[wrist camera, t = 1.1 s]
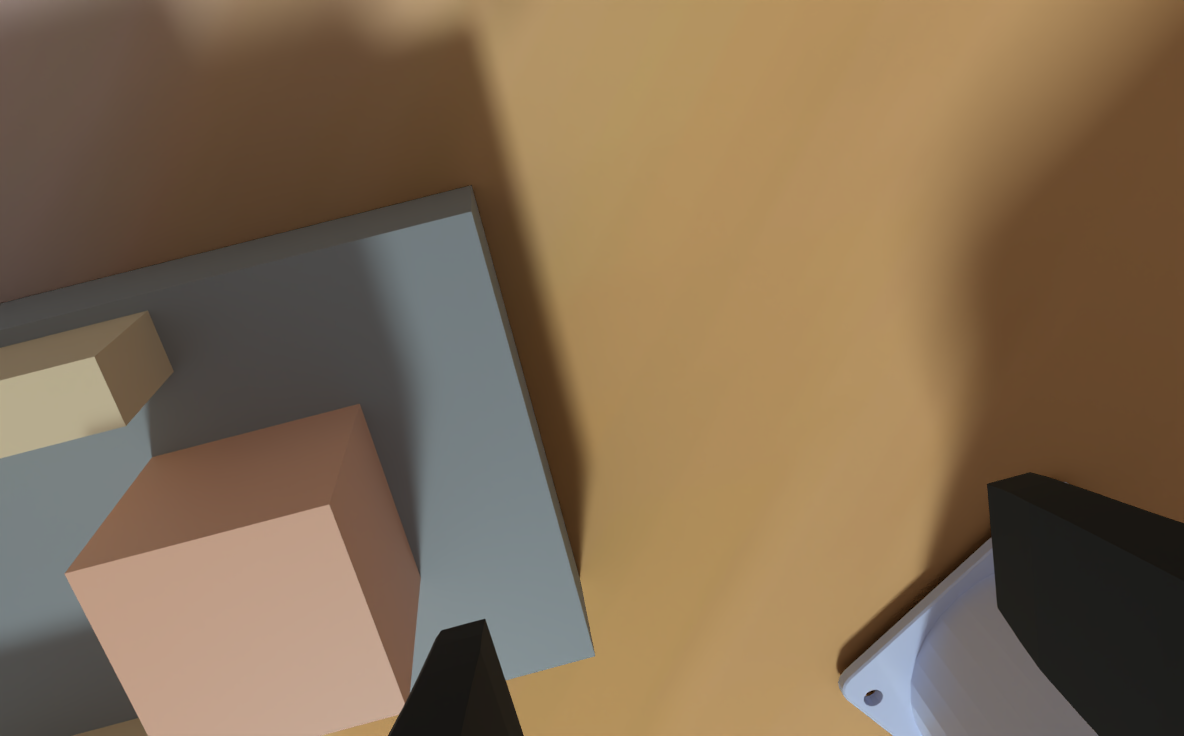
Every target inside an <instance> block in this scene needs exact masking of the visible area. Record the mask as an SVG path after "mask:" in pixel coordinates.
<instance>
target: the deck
mask: <svg viewBox="0 0 1184 736" xmlns="http://www.w3.org/2000/svg"><path fill="white" fill-rule="evenodd" d="M356 404H360V406H361V409H362V411H363V414H364V417H365V420H366V423H367V426H368V429H369V431H370V434H371V437H372V440H373V443H374V446H375V449H376V451H377V454H378V457H379V460H380V463H381V466H382V469H383V471H384V474H385V477H386V480H387V483H388V486H389V489H390V491H391V494H392V497H393V500H394V503H395V506H396V509H397V511H398V514H399V517H400V520H401V523H402V526H403V529H404V531H405V534H406V537H407V540H408V543H409V546H410V549H411V551H412V554H413V557H414V560H415V563H416V566H417V569H418V571H419V574H420V577H421V581H420V592H419V602H418V613H417V623H416V634H415V645H414V655H413V666H412V676H411V687H410V692H411V690H412V688H413V686H414V684H415V682H416V680H417V678H418V676H419V673H420V671H421V669H422V667H423V665H424V663H425V660H426V658H427V656H428V654H429V652H430V650H431V647H432V645H433V643H434V641H435V639H436V637H437V636H438V634H439V633H440V631H441V630H444V629H448V628H452V627H455V626H459V625H463V624H467V623H470V622H474V621H478V620H482V619H486V622H487V625H488V628H489V631H490V634H491V638H492V641H493V644H494V647H495V650H496V653H497V656H498V659H499V662H500V665H501V668H502V671H503V674H504V677H505V680H509V679H512V678H516V677H520V676H523V675H527V674H531V673H535V672H538V671H542V670H546V669H549V668H553V667H557V666H560V665H564V664H568V663H572V662H575V661H579V660H583V659H586V658H590V657H594V656H595V653H594V648H593V643H592V638H591V632H590V627H589V622H588V617H587V612H586V607H585V602H584V597H583V592H582V587H581V582H580V577H579V574H578V570H577V567H576V563H575V559H574V556H573V552H572V548H571V545H570V541H569V537H568V534H567V530H566V527H565V523H564V519H563V516H562V512H561V508H560V505H559V501H558V498H557V494H556V490H555V487H554V483H553V479H552V476H551V472H550V468H549V465H548V461H547V458H546V454H545V450H544V447H543V443H542V439H541V436H540V432H539V429H538V425H537V421H536V418H535V414H534V410H533V407H532V403H531V399H530V396H529V392H528V389H527V385H526V381H525V378H524V374H523V370H522V367H521V363H520V360H519V356H518V352H517V349H516V345H515V341H514V338H513V334H512V330H511V327H510V323H509V320H508V316H507V312H506V309H505V305H504V301H503V298H502V294H501V291H500V287H499V283H498V280H497V276H496V272H495V269H494V265H493V261H492V258H491V254H490V251H489V247H488V243H487V240H486V236H485V232H484V229H483V225H482V222H481V218H480V214H479V211H478V207H477V203H476V200H475V196H474V192H473V189H472V185H471V186H467V187H463V188H459V189H455V190H451V191H447V192H443V193H439V194H435V195H431V196H427V197H423V198H419V199H415V200H411V201H407V202H403V203H399V204H395V205H391V206H387V207H383V208H379V209H375V210H371V211H367V212H363V213H359V214H355V215H351V216H347V217H343V218H339V219H335V220H331V221H327V222H323V223H319V224H315V225H312V226H308V227H304V228H300V229H296V230H292V231H288V232H284V233H280V234H276V235H272V236H268V237H264V238H260V239H256V240H252V241H248V242H244V243H240V244H236V245H232V246H228V247H224V248H220V249H216V250H212V251H208V252H204V253H200V254H196V255H192V256H188V257H184V258H180V259H176V260H172V261H168V262H164V263H160V264H156V265H152V266H148V267H144V268H140V269H136V270H132V271H128V272H124V273H120V274H116V275H112V276H108V277H104V278H100V279H97V280H93V281H89V282H85V283H81V284H77V285H73V286H69V287H65V288H61V289H57V290H53V291H49V292H45V293H41V294H37V295H33V296H29V297H25V298H21V299H17V300H13V301H9V302H5V303H1V304H0V736H148V735H147V733H146V731H145V729H144V727H143V725H142V723H141V721H140V719H139V717H138V715H137V713H136V712H135V710H134V708H133V706H132V704H131V702H130V700H129V698H128V696H127V694H126V692H125V690H124V688H123V686H122V684H121V682H120V681H119V679H118V677H117V675H116V673H115V671H114V669H113V667H112V665H111V663H110V661H109V659H108V657H107V655H106V653H105V652H104V650H103V648H102V646H101V644H100V642H99V640H98V638H97V636H96V634H95V632H94V630H93V628H92V626H91V624H90V622H89V621H88V619H87V617H86V615H85V613H84V611H83V609H82V607H81V605H80V603H79V601H78V599H77V597H76V595H75V593H74V591H73V590H72V588H71V586H70V584H69V582H68V580H67V578H66V576H65V572H66V571H67V570H68V568H69V567H70V566H71V564H72V563H73V562H74V560H75V559H76V558H77V556H78V555H79V554H80V552H81V551H82V550H83V548H84V547H85V546H86V544H87V543H88V542H89V540H90V539H91V538H92V536H93V535H94V534H95V532H96V531H97V530H98V528H99V527H100V526H101V524H102V523H103V522H104V520H105V519H106V518H107V516H108V515H109V514H110V512H111V511H112V510H113V508H114V507H115V506H116V504H117V503H118V502H119V500H120V499H121V498H122V496H123V495H124V494H125V492H126V491H127V490H128V488H129V487H130V486H131V484H132V483H133V482H134V480H135V479H136V478H137V476H138V475H139V474H140V472H141V471H142V470H143V468H144V467H145V466H146V464H147V463H148V462H149V460H150V459H151V458H152V457H155V456H159V455H163V454H167V453H170V452H174V451H178V450H182V449H186V448H190V447H194V446H198V445H201V444H205V443H209V442H213V441H217V440H221V439H225V438H228V437H232V436H236V435H240V434H244V433H248V432H252V431H256V430H259V429H263V428H267V427H271V426H275V425H279V424H283V423H287V422H290V421H294V420H298V419H302V418H306V417H310V416H314V415H318V414H321V413H325V412H329V411H333V410H337V409H341V408H345V407H349V406H352V405H356Z"/></svg>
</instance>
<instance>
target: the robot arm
mask: <svg viewBox="0 0 1184 736" xmlns="http://www.w3.org/2000/svg"><path fill="white" fill-rule="evenodd" d="M987 488H988V500H989V513H990V525H991V538H990V539H988V540H987V541H986V542H985V543H984V544H983V545H982V546H981V547H980V548H979V549H977V550H976V551H975V552H974V553H973V554H972V555H971V556H970V557H969V558H968V559H966V560H965V561H964V562H963V563H962V564H961V565H960V566H959V567H958V568H957V569H955V570H954V571H953V572H952V573H951V574H950V575H949V576H948V577H947V578H946V579H944V580H943V581H942V582H941V583H940V584H939V585H938V586H937V587H936V588H935V589H933V590H932V591H931V592H930V593H929V594H928V595H927V596H926V597H925V598H924V599H922V600H921V601H920V602H919V603H918V604H917V605H916V606H915V607H914V608H912V609H911V610H910V611H909V612H908V613H907V614H906V615H905V616H904V617H903V618H901V619H900V620H899V621H898V622H897V623H896V624H895V625H894V626H893V627H892V628H890V629H889V630H888V631H887V632H886V633H885V634H884V635H883V636H882V637H881V638H879V639H878V640H877V641H876V642H875V643H874V644H873V645H872V646H871V647H870V648H868V649H867V650H866V651H865V652H864V653H863V654H862V655H861V656H860V657H859V658H857V659H856V660H855V661H854V662H853V663H852V664H851V665H850V666H849V667H848V668H846V669H845V670H844V671H843V673H842V674H841V675H840V678H839V681H838V683H839V688H840V690H841V692H842V693H843V695H844V697H845V698H846V699H847V700H848V701H849V702H851V703H852V704H853V705H854V706H856V707H857V708H858V709H860V710H861V711H862V712H863V713H865V714H866V715H867V716H869V717H870V718H871V719H872V720H874V721H875V722H876V723H878V724H879V725H880V726H881V727H883V728H884V729H885V730H887V731H888V732H889V733H890V734H892V735H893V736H1184V523H1181V522H1178V521H1175V520H1172V519H1169V518H1166V517H1163V516H1160V515H1157V514H1154V513H1151V512H1148V511H1145V510H1143V509H1140V508H1137V507H1134V506H1131V505H1128V504H1125V503H1122V502H1120V501H1117V500H1114V499H1111V498H1108V497H1105V496H1102V495H1100V494H1097V493H1094V492H1091V491H1088V490H1085V489H1082V488H1079V487H1076V486H1073V485H1071V484H1068V483H1067V482H1061V481H1058V480H1055V479H1052V478H1049V477H1046V476H1042V475H1038V474H1035V473H1031V472H1030V473H1026V474H1022V475H1018V476H1015V477H1011V478H1007V479H1003V480H1000V481H996V482H992V483H989V484H987ZM871 690H876V691H875V692H874V693H873V694H871V695H869V696H865V695H866V694H867V693H868V692H869V691H871ZM388 736H524V735H523V732H522V729H521V726H520V723H519V720H518V717H517V714H516V711H515V708H514V705H513V702H512V699H511V696H510V693H509V690H508V686H507V683H506V680H505V677H504V674H503V671H502V668H501V665H500V662H499V659H498V656H497V653H496V650H495V647H494V644H493V641H492V638H491V634H490V631H489V628H488V625H487V622H486V619H482V620H478V621H474V622H470V623H467V624H463V625H459V626H455V627H452V628H448V629H444V630H441V631H440V633H439V634H438V636H437V637H436V639H435V641H434V643H433V645H432V647H431V650H430V652H429V654H428V656H427V658H426V660H425V663H424V665H423V667H422V669H421V671H420V673H419V676H418V678H417V680H416V682H415V684H414V686H413V688H412V690H411V692H410V694H409V696H408V698H407V700H406V702H405V704H404V706H403V708H402V710H401V712H400V714H399V716H398V718H397V720H396V722H395V724H394V725H393V727H392V729H391V731H390V733H389V735H388Z"/></svg>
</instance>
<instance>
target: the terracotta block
mask: <svg viewBox="0 0 1184 736" xmlns="http://www.w3.org/2000/svg"><path fill="white" fill-rule="evenodd" d="M65 576H66V578H67V580H68V582H69V584H70V586H71V588H72V590H73V591H74V593H75V595H76V597H77V599H78V601H79V603H80V605H81V607H82V609H83V611H84V613H85V615H86V617H87V619H88V621H89V622H90V624H91V626H92V628H93V630H94V632H95V634H96V636H97V638H98V640H99V642H100V644H101V646H102V648H103V650H104V652H105V653H106V655H107V657H108V659H109V661H110V663H111V665H112V667H113V669H114V671H115V673H116V675H117V677H118V679H119V681H120V682H121V684H122V686H123V688H124V690H125V692H126V694H127V696H128V698H129V700H130V702H131V704H132V706H133V708H134V710H135V712H136V713H137V715H138V717H139V719H140V721H141V723H142V725H143V727H144V729H145V731H146V733H147V735H148V736H321V735H325V734H329V733H332V732H336V731H340V730H344V729H347V728H351V727H355V726H358V725H362V724H366V723H369V722H373V721H377V720H380V719H384V718H388V717H392V716H395V715H399V714H400V712H401V710H402V708H403V706H404V704H405V702H406V700H407V698H408V696H409V694H410V687H411V676H412V666H413V655H414V645H415V634H416V623H417V613H418V602H419V592H420V581H421V577H420V574H419V571H418V569H417V566H416V563H415V560H414V557H413V554H412V551H411V549H410V546H409V543H408V540H407V537H406V534H405V531H404V529H403V526H402V523H401V520H400V517H399V514H398V511H397V509H396V506H395V503H394V500H393V497H392V494H391V491H390V489H389V486H388V483H387V480H386V477H385V474H384V471H383V469H382V466H381V463H380V460H379V457H378V454H377V451H376V449H375V446H374V443H373V440H372V437H371V434H370V431H369V429H368V426H367V423H366V420H365V417H364V414H363V411H362V409H361V406H360V404H356V405H352V406H349V407H345V408H341V409H337V410H333V411H329V412H325V413H321V414H318V415H314V416H310V417H306V418H302V419H298V420H294V421H290V422H287V423H283V424H279V425H275V426H271V427H267V428H263V429H259V430H256V431H252V432H248V433H244V434H240V435H236V436H232V437H228V438H225V439H221V440H217V441H213V442H209V443H205V444H201V445H198V446H194V447H190V448H186V449H182V450H178V451H174V452H170V453H167V454H163V455H159V456H155V457H152V458H151V459H150V460H149V462H148V463H147V464H146V466H145V467H144V468H143V470H142V471H141V472H140V474H139V475H138V476H137V478H136V479H135V480H134V482H133V483H132V484H131V486H130V487H129V488H128V490H127V491H126V492H125V494H124V495H123V496H122V498H121V499H120V500H119V502H118V503H117V504H116V506H115V507H114V508H113V510H112V511H111V512H110V514H109V515H108V516H107V518H106V519H105V520H104V522H103V523H102V524H101V526H100V527H99V528H98V530H97V531H96V532H95V534H94V535H93V536H92V538H91V539H90V540H89V542H88V543H87V544H86V546H85V547H84V548H83V550H82V551H81V552H80V554H79V555H78V556H77V558H76V559H75V560H74V562H73V563H72V564H71V566H70V567H69V568H68V570H67V571H66V572H65Z"/></svg>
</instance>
